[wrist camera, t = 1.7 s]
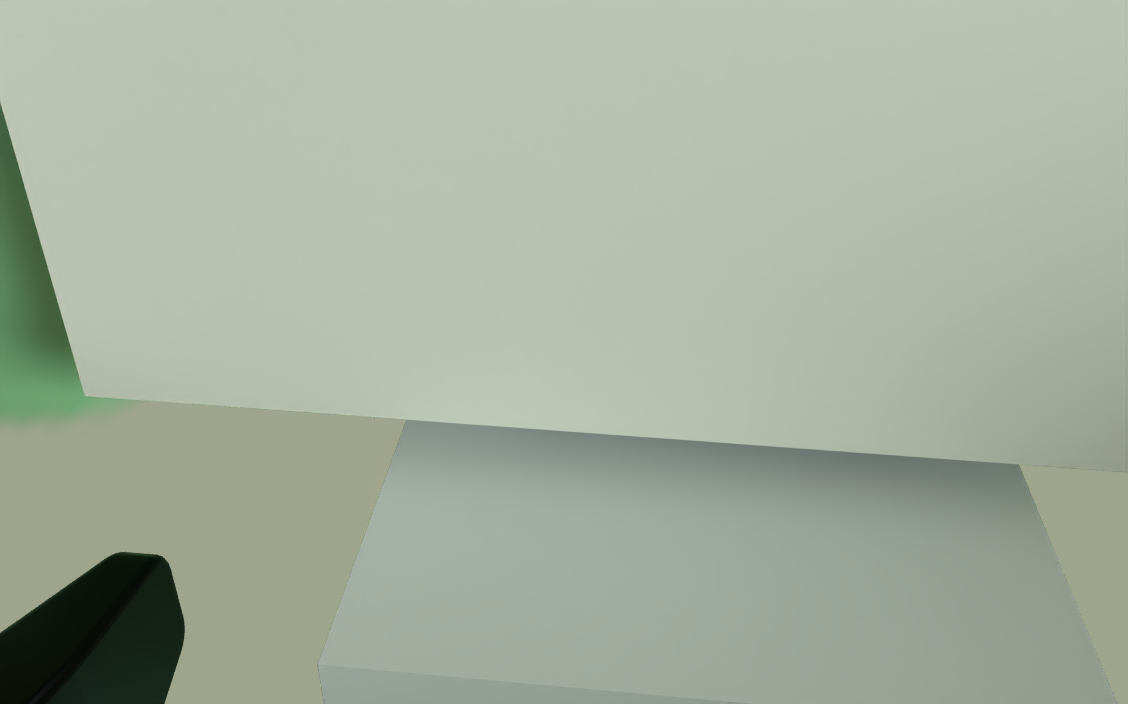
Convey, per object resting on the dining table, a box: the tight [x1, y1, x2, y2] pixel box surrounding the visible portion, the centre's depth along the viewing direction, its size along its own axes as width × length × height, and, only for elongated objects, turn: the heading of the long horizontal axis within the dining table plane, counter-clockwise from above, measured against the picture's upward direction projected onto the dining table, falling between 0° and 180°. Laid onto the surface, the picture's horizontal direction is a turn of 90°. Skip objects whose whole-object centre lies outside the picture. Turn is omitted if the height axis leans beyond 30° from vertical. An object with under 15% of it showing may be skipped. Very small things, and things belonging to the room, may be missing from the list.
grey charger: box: [317, 420, 1117, 704], centre depth 9 cm, size 4×6×6 cm
